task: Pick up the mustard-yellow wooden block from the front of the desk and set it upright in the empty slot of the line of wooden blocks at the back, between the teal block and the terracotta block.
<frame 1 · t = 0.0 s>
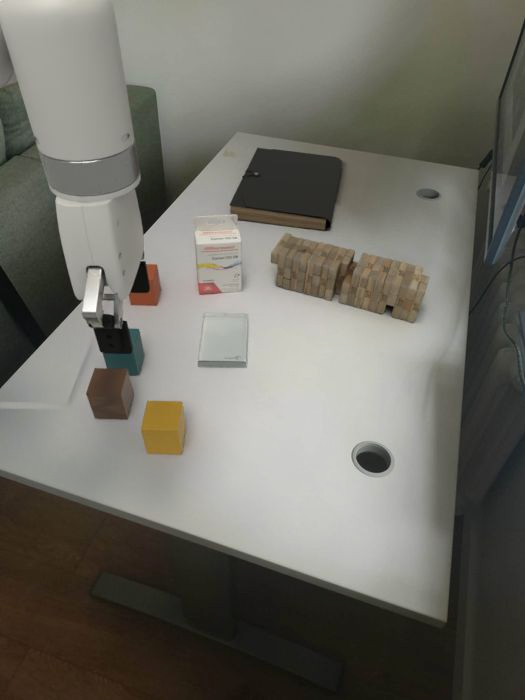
hand: (127, 319, 53), 26 cm above the table, tool pointing down, fingers open, 9 cm apart
hard drive: (224, 342, 88), on the table
walnut block: (114, 406, 77), on the table
teal block: (126, 364, 83), on the table
terracotta block: (146, 297, 96), on the table
yellow block: (166, 439, 73), on the table
block tower: (344, 293, 98), on the table
black book: (289, 193, 127), on the table
ink cartridge box: (219, 287, 99), on the table
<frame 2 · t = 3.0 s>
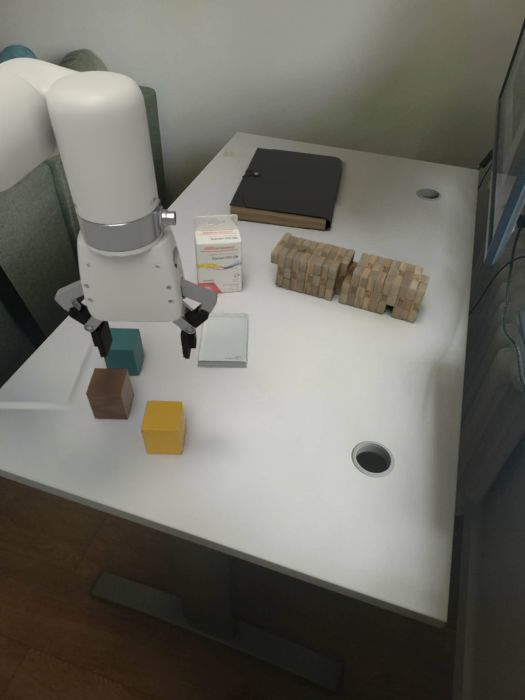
hand: (147, 349, 59), 19 cm above the table, tool pointing down, fingers open, 9 cm apart
nothing on the table moved.
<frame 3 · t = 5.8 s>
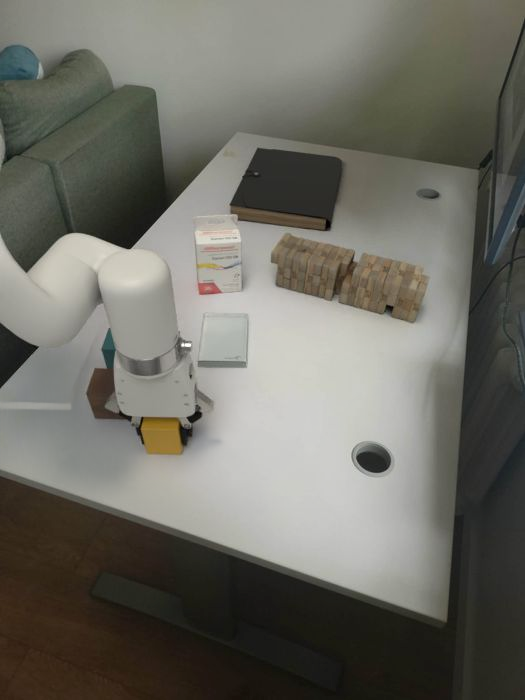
hand: (166, 435, 72), 1 cm above the table, tool pointing down, fingers closed on yellow block, 5 cm apart
yellow block: (166, 439, 73), on the table, touching gripper
everything else where it was.
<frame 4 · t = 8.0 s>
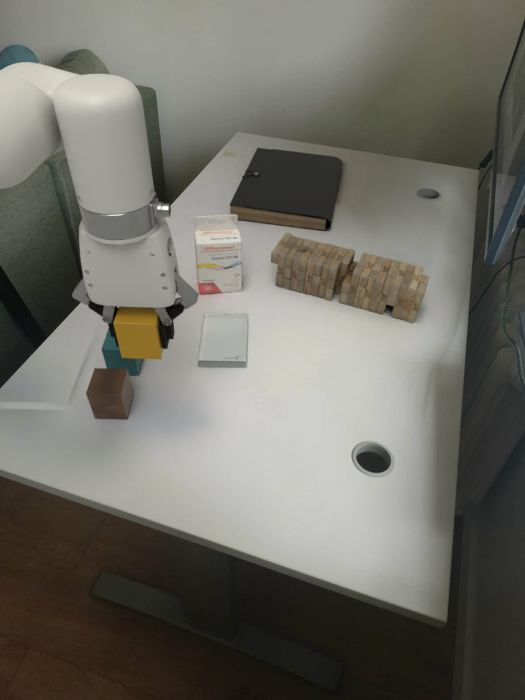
hand: (144, 339, 63), 17 cm above the table, tool pointing down, fingers closed on yellow block, 5 cm apart
yellow block: (145, 345, 64), point 16 cm above the table, touching gripper
everything else where it was.
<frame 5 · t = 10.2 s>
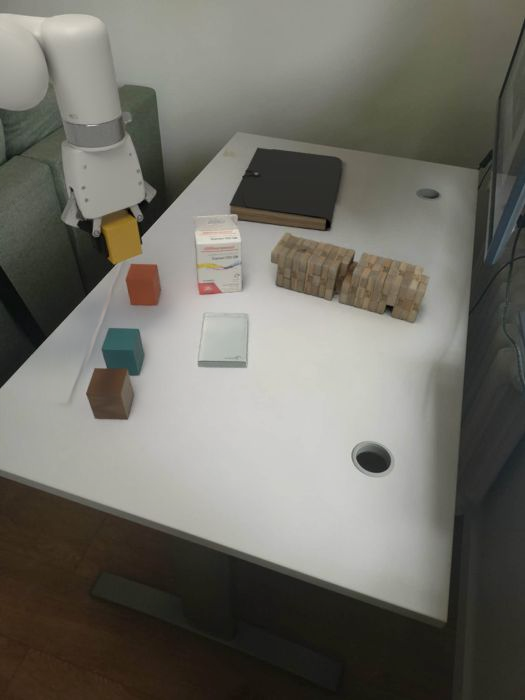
hand: (119, 246, 77), 17 cm above the table, tool pointing down, fingers closed on yellow block, 5 cm apart
yellow block: (120, 252, 78), point 16 cm above the table, touching gripper
everything else where it was.
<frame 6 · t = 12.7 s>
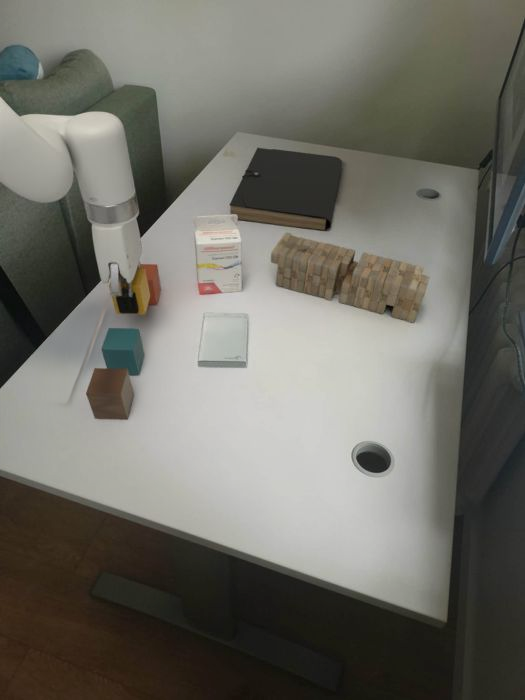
hand: (132, 300, 85), 6 cm above the table, tool pointing down, fingers closed on yellow block, 5 cm apart
yellow block: (133, 304, 86), point 5 cm above the table, touching gripper
everything else where it was.
when the fingers open (1 cm above the table, at t = 14.6 s): yellow block stays where it is, on the table.
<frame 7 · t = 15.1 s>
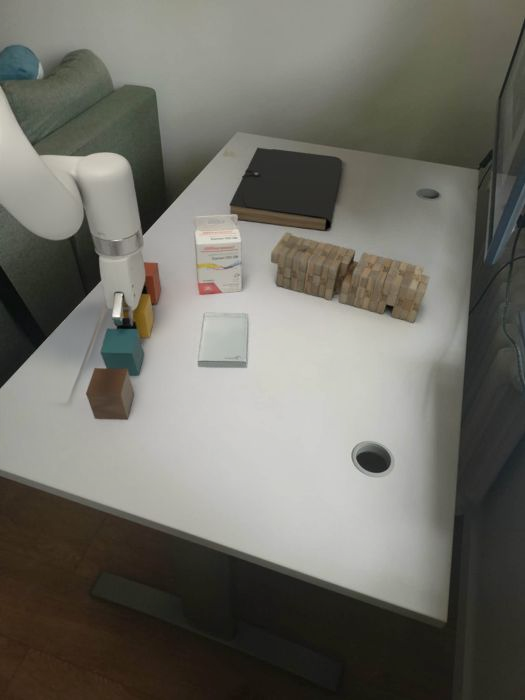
hand: (135, 320, 88), 2 cm above the table, tool pointing down, fingers open, 9 cm apart
teal block: (126, 363, 83), on the table, tilted 6°, touching gripper
terracotta block: (146, 296, 96), on the table, tilted 6°, touching gripper
yellow block: (138, 328, 90), on the table
everything else where it was.
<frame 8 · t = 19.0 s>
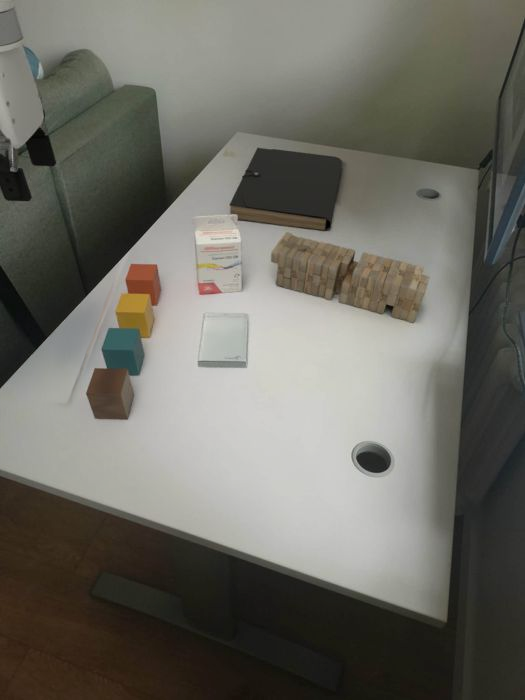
hand: (32, 181, 65), 30 cm above the table, tool pointing down, fingers open, 9 cm apart
teal block: (126, 364, 83), on the table
terracotta block: (146, 297, 96), on the table
everything else where it was.
at the end: yellow block 0.2 cm from the target spot on the table beside the terracotta block, on the table; yellow block tilted 0° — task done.
